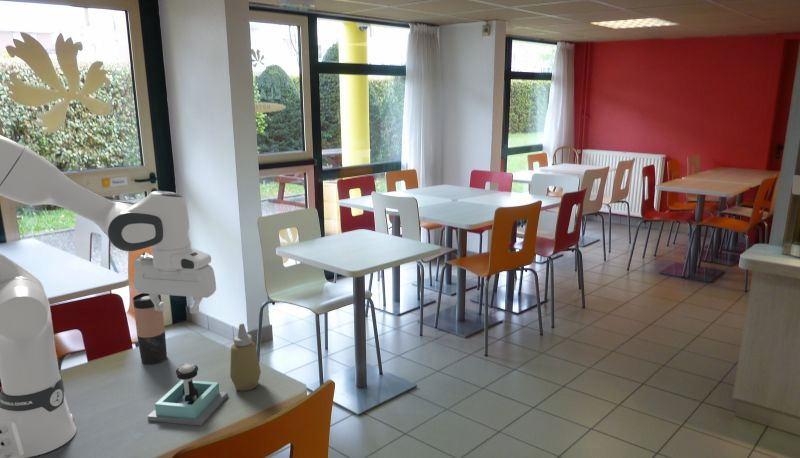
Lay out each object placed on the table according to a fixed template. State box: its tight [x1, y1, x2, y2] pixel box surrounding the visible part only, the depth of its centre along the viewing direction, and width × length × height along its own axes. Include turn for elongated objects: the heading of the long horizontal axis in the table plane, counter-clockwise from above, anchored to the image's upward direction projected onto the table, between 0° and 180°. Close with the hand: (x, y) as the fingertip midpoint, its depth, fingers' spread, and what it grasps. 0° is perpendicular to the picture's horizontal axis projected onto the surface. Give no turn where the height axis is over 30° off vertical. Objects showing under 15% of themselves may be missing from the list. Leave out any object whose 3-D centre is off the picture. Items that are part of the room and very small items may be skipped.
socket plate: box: [147, 379, 229, 426], centre depth 146 cm, size 14×14×4 cm
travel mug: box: [132, 293, 168, 365], centre depth 171 cm, size 8×8×20 cm
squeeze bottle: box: [229, 323, 262, 392], centre depth 155 cm, size 8×8×18 cm
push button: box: [175, 362, 199, 405], centre depth 145 cm, size 7×5×10 cm
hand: (177, 311), depth 142 cm, fingers open, 8 cm apart
